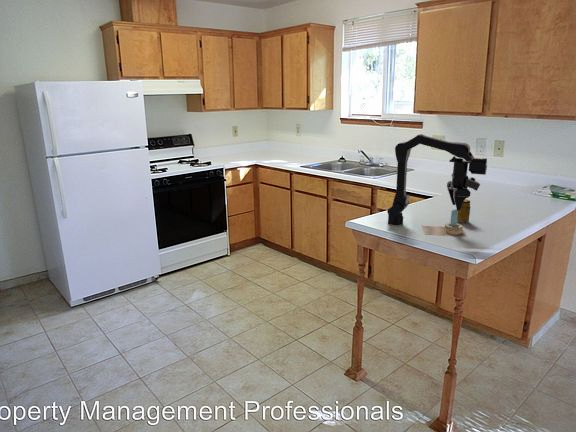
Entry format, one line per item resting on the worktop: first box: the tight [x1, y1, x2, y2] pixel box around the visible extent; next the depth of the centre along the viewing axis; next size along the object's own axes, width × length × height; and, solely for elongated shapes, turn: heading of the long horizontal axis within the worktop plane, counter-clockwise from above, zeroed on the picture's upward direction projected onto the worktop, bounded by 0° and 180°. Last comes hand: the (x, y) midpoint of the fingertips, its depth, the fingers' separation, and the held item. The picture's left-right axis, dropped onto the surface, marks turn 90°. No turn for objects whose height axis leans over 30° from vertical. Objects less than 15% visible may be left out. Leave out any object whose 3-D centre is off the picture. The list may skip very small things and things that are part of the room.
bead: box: [444, 222, 464, 234], centre depth 193 cm, size 7×7×3 cm
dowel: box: [449, 209, 458, 227], centre depth 192 cm, size 3×3×10 cm
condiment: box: [457, 198, 471, 225], centre depth 206 cm, size 7×8×12 cm
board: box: [421, 225, 468, 238], centre depth 195 cm, size 18×13×1 cm
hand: (456, 207), depth 190 cm, fingers open, 9 cm apart
